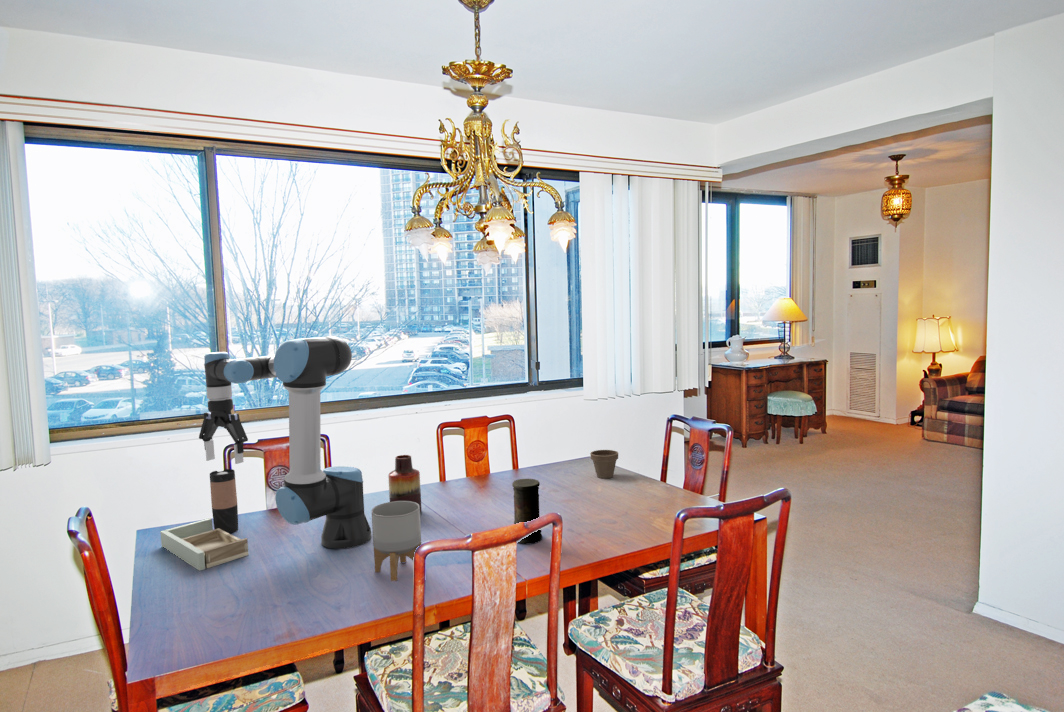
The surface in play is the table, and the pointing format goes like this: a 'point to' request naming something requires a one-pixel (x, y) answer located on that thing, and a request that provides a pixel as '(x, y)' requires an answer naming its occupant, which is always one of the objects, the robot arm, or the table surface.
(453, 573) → the table surface
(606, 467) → the flower pot
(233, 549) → the tray
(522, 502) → the container
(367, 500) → the table surface
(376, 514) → the planter
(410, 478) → the vase
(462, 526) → the table surface
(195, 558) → the bay
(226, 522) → the travel mug
